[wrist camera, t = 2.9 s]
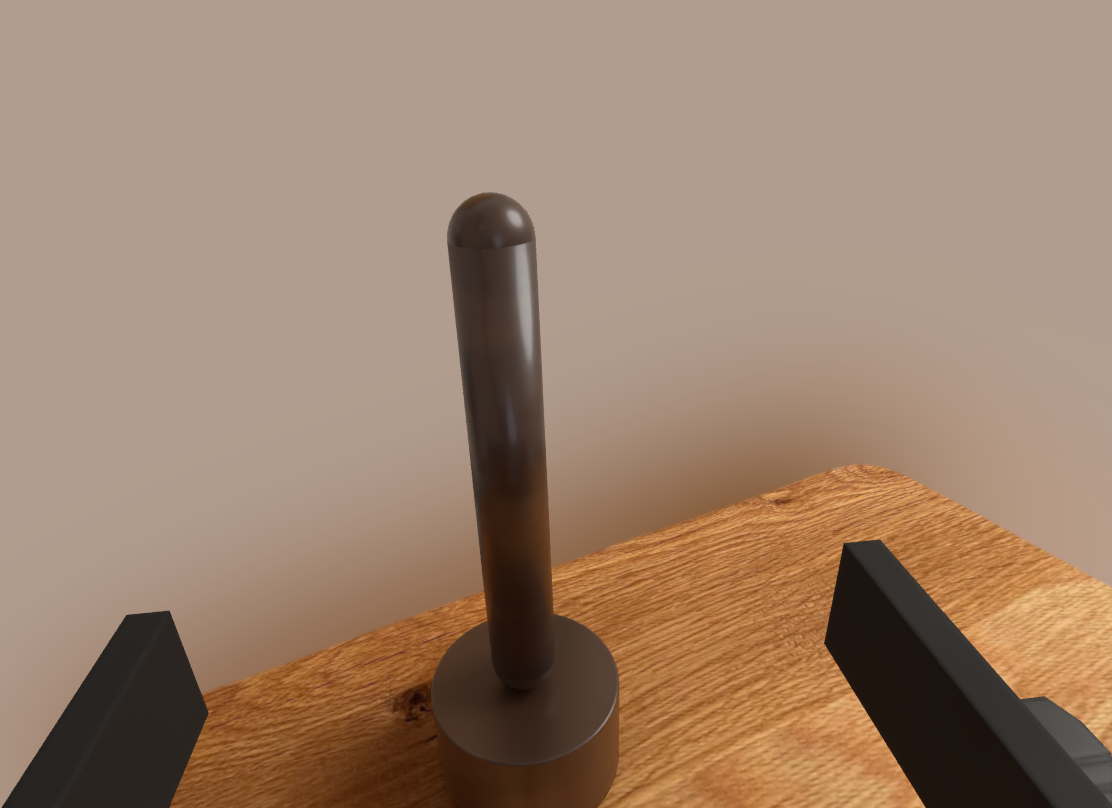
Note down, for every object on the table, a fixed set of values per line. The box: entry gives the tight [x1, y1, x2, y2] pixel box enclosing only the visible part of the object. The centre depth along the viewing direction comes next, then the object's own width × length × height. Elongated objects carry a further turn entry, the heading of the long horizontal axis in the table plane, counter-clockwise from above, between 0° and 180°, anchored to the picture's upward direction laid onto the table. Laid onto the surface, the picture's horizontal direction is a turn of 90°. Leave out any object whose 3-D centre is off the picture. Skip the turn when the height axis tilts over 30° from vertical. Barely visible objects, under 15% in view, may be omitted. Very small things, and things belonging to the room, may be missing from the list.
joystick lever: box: [431, 192, 619, 808], centre depth 19 cm, size 6×6×18 cm
